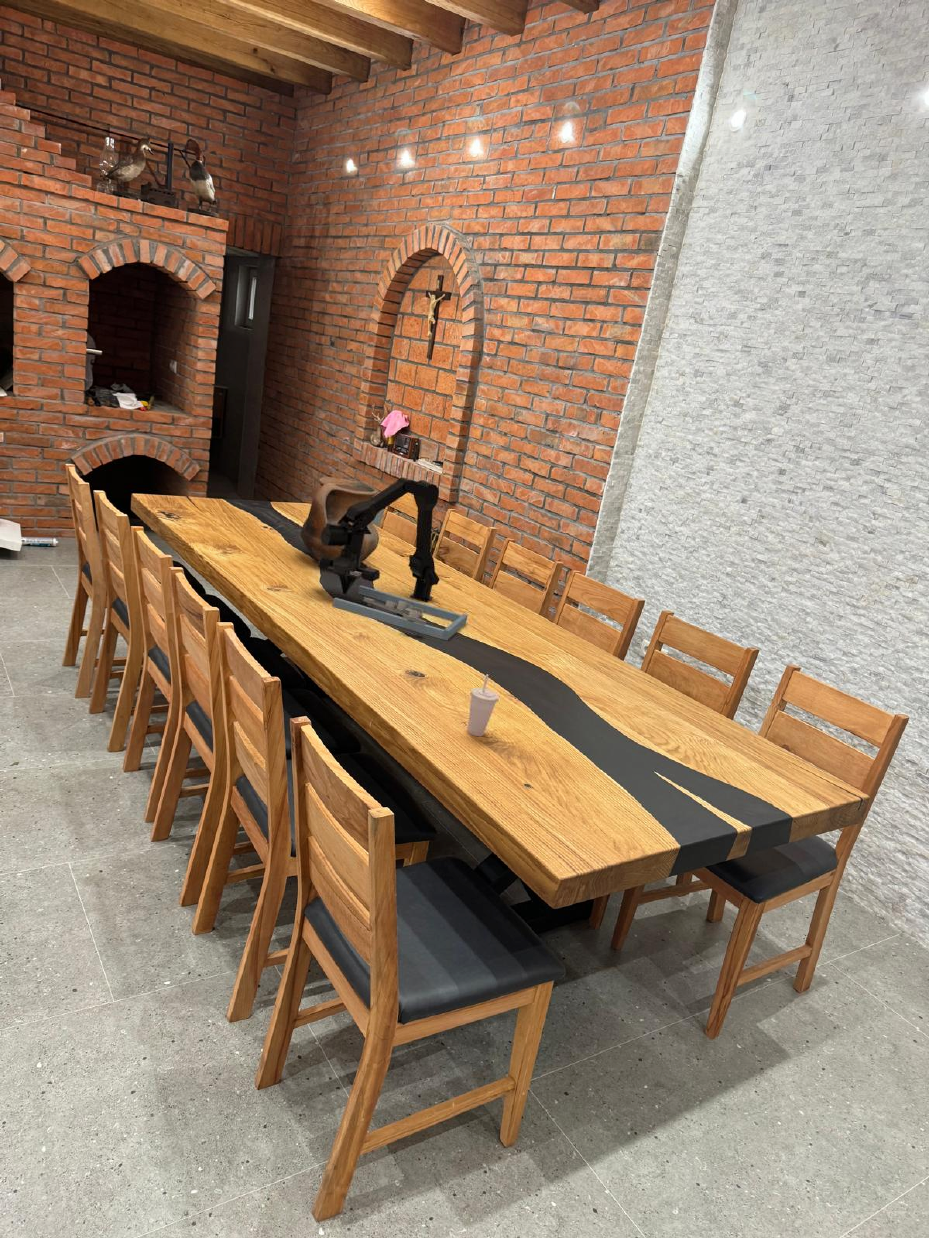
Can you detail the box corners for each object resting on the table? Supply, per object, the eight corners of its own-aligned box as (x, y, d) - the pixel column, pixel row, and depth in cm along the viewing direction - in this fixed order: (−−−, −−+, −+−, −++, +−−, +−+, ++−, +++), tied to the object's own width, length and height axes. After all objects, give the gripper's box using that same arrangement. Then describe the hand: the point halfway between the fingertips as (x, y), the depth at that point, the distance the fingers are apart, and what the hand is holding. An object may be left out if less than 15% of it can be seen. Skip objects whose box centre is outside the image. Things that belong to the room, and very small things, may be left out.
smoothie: (473, 723, 189) (486, 668, 185) (495, 735, 185) (509, 679, 181) (456, 729, 184) (469, 672, 180) (477, 741, 180) (491, 683, 176)
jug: (360, 583, 278) (375, 497, 269) (282, 563, 280) (295, 477, 272) (383, 564, 309) (398, 486, 300) (313, 546, 311) (326, 469, 303)
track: (359, 592, 268) (361, 583, 267) (465, 623, 260) (467, 615, 259) (332, 606, 248) (334, 597, 247) (446, 640, 241) (448, 631, 240)
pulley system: (390, 611, 263) (355, 601, 252) (395, 597, 263) (360, 586, 252) (447, 635, 244) (411, 625, 233) (452, 620, 244) (417, 609, 233)
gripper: (314, 542, 248) (306, 591, 252) (370, 558, 244) (361, 607, 248) (330, 537, 258) (322, 584, 263) (384, 552, 254) (375, 600, 259)
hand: (344, 594), depth 258 cm, fingers closed
